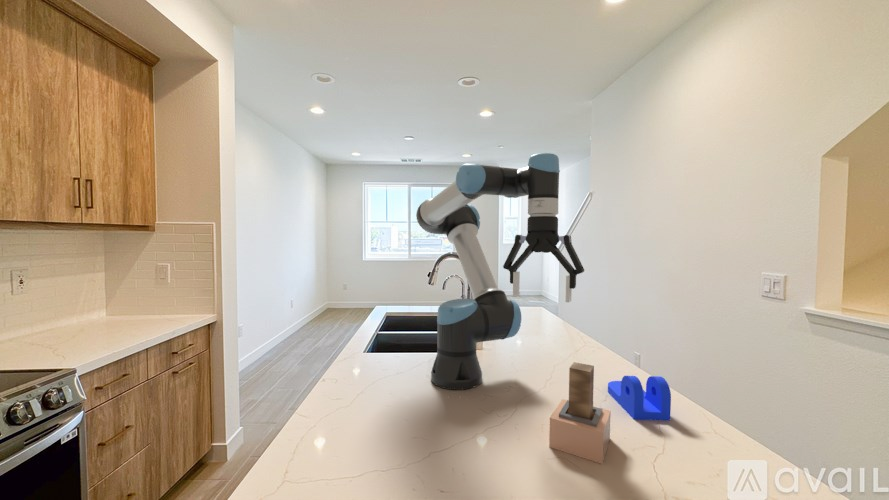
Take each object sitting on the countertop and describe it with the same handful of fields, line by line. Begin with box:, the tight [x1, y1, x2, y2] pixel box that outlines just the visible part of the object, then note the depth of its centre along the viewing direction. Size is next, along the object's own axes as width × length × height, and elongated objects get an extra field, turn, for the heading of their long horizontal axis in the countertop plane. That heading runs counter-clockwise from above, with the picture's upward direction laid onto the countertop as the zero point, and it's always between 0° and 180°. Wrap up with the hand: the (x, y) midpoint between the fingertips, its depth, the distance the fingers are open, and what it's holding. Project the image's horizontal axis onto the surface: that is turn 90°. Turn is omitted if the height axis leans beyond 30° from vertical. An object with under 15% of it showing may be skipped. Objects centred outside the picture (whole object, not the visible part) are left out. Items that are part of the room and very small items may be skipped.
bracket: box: [607, 375, 672, 422], centre depth 92 cm, size 18×8×9 cm, turn 178°
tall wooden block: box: [568, 361, 595, 420], centre depth 73 cm, size 4×4×14 cm
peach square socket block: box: [548, 398, 612, 465], centre depth 74 cm, size 10×10×7 cm
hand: (541, 298), depth 92 cm, fingers open, 13 cm apart
